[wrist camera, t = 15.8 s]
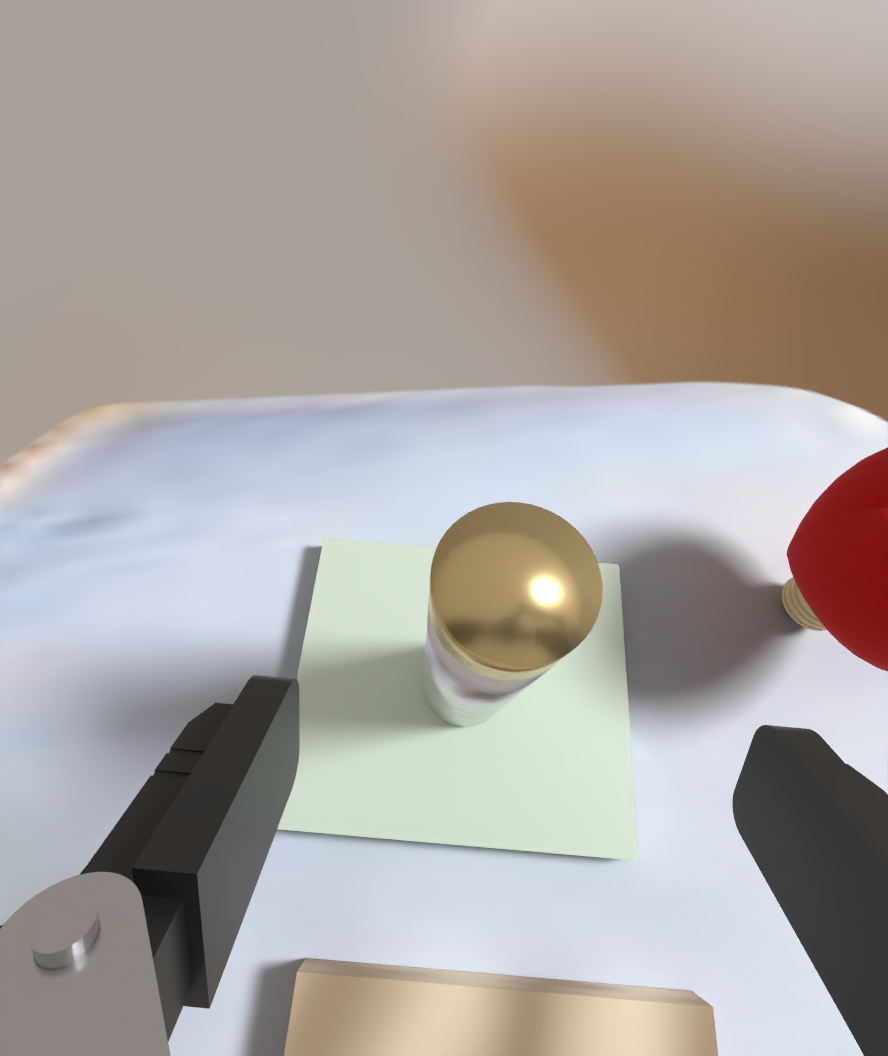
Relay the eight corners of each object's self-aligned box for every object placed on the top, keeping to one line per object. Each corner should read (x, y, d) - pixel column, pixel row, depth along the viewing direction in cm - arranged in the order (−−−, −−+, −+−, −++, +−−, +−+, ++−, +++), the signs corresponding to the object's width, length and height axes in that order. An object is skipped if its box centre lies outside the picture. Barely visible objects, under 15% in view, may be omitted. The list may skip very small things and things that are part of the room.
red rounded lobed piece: (863, 733, 23) (1144, 705, 14) (707, 666, 24) (879, 599, 15) (879, 556, 27) (1110, 444, 18) (743, 503, 28) (898, 373, 19)
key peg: (507, 646, 23) (599, 510, 12) (503, 731, 22) (605, 675, 10) (427, 637, 23) (439, 494, 12) (418, 722, 22) (420, 655, 10)
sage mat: (612, 571, 26) (619, 564, 25) (629, 857, 21) (638, 860, 20) (327, 545, 26) (323, 537, 25) (274, 826, 21) (267, 828, 20)
